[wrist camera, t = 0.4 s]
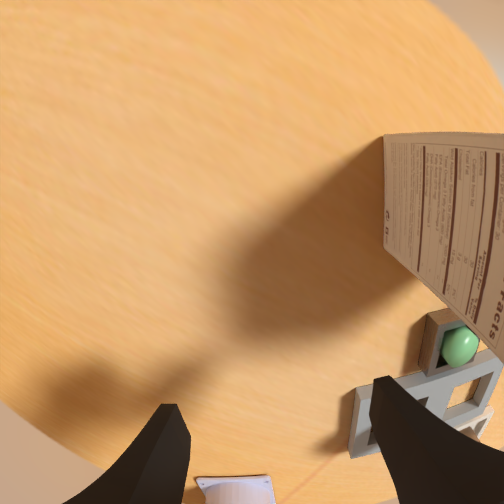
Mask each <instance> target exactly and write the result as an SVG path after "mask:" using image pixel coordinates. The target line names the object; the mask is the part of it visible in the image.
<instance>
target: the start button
mask: <svg viewBox="0 0 504 504" xmlns="http://www.w3.org/2000/svg"><path fill="white" fill-rule="evenodd" d="M477 347H478V338H477V337H476V336H475V335H474V334H473V333H472V332H471V331H470V330H469V329H468V328H467V327H466V326H461V327H458V328H455V329H451V330H448V331H445V332H444V336H443V341H442V345H441V349H440V354H441V355H442V356H443V358H444V359H445V360H446V361H447V363H448V364H449V365H450V366H451V367H454V368H456V367H460V366H462V365H464V364H465V363H466V362H468V361H469V360H470V359H471V358H472V356H473V355H474V353H475V352H476V350H477Z"/></svg>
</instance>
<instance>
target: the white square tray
mask: <svg viewBox="0 0 504 504" xmlns="http://www.w3.org/2000/svg"><path fill="white" fill-rule="evenodd" d="M493 413H494V409H493V408H492V407H491V405H489V406H487V407H486V408H485V410H484V412H483V414H482V415H479V416H477V417H475V418H473V419H471V420H468V421H466V422H464V423H462V424H459V425H457V426H455V427H453V428H454V429H456V430H458V431H460V430H462V429H464V428H467V427H469V426H470V427H471V428H472V429H473V431H474V432H475V434H476V436H477V437H478V439H479V438H480V437H481V435H482V433H483V431H484V430H485V428H486V426H487V424H488V422H489V421H490V419H491V417H492V415H493Z"/></svg>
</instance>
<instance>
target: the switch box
mask: <svg viewBox="0 0 504 504" xmlns="http://www.w3.org/2000/svg"><path fill="white" fill-rule="evenodd" d="M461 326H466V327H467V328H468V329H469V330H470V331H471V332H472V333H473V334H474V335H475V336H476V337H477V338H478V345H479V342H480V338H479V337H478V336H477V335H476V334H475V333H474V332H473V331H472V330H471V329H470V328H469V327H468V326H467V325H466V324H465V323H464V322H463V321H462V320H461V319H460V318H459V317H458V316H457V315H456V314H455V313H454V312H453V311H452V310H451V309H450V308H447V309H443V310H439V311H435V312H430V313H427V319H426V325H425V331H424V336H423V341H422V347H421V352H420V356H419V361H418V365H419V367H420V368H421V370H422V371H423V373H424V374H425V376H426V377H430V376H433V375H436V374H439V373H442V372H445V371H448V370H451V369H454V367H451V366H450V365H449V364H448V363H447V361H446V360H445V359H444V358H443V356H442V355H441V354H440V349H441V345H442V341H443V336H444V332H445V331H448V330H451V329H455V328H458V327H461ZM477 348H478V347H477ZM476 352H477V350H476ZM476 352H475V353H474V355H473V356H472V358H471V359H470V360H469V361H468V362H466V363H465V364H468V363H471V362H473V361H474V358H475V355H476ZM465 364H464V365H465ZM462 366H463V365H462ZM456 368H457V367H456Z"/></svg>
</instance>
